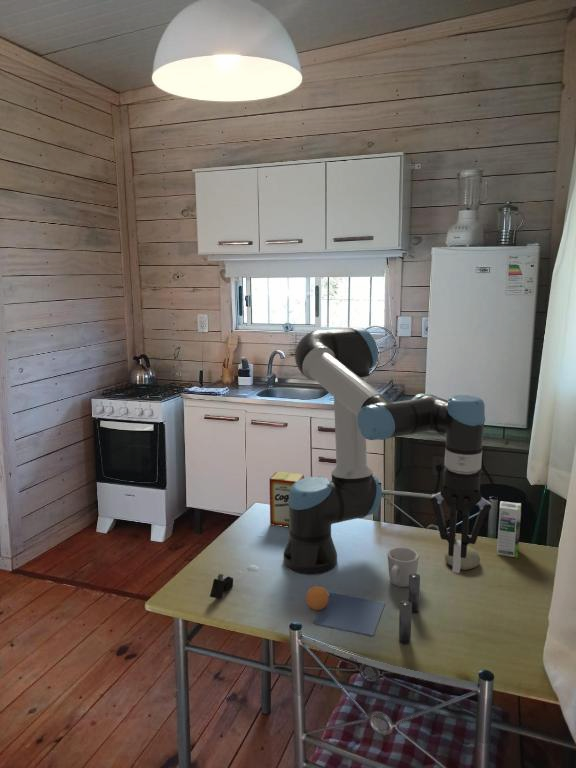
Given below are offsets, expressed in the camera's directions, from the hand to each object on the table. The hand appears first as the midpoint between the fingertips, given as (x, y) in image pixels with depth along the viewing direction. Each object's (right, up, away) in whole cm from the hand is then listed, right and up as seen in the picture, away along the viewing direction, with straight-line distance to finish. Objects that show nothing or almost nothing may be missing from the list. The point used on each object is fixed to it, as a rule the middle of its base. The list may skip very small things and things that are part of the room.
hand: (456, 569), depth 133 cm
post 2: (-7, -14, +12) cm, 20 cm away
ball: (-30, -11, +13) cm, 35 cm away
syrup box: (+26, -8, +41) cm, 49 cm away
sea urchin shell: (+11, -9, +35) cm, 37 cm away
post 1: (-11, -16, +1) cm, 20 cm away
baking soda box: (-38, -4, +62) cm, 72 cm away
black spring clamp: (-54, -13, +20) cm, 59 cm away
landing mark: (-22, -14, +11) cm, 29 cm away
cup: (-8, -12, +24) cm, 28 cm away
